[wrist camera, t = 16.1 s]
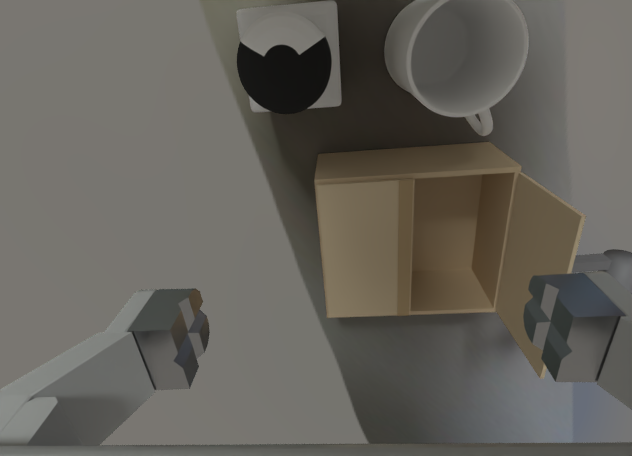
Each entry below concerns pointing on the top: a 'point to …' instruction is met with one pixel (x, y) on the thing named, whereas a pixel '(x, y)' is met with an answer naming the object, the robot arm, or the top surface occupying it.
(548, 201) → the near flap
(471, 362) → the top surface
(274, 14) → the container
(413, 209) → the carton
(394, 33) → the mug
